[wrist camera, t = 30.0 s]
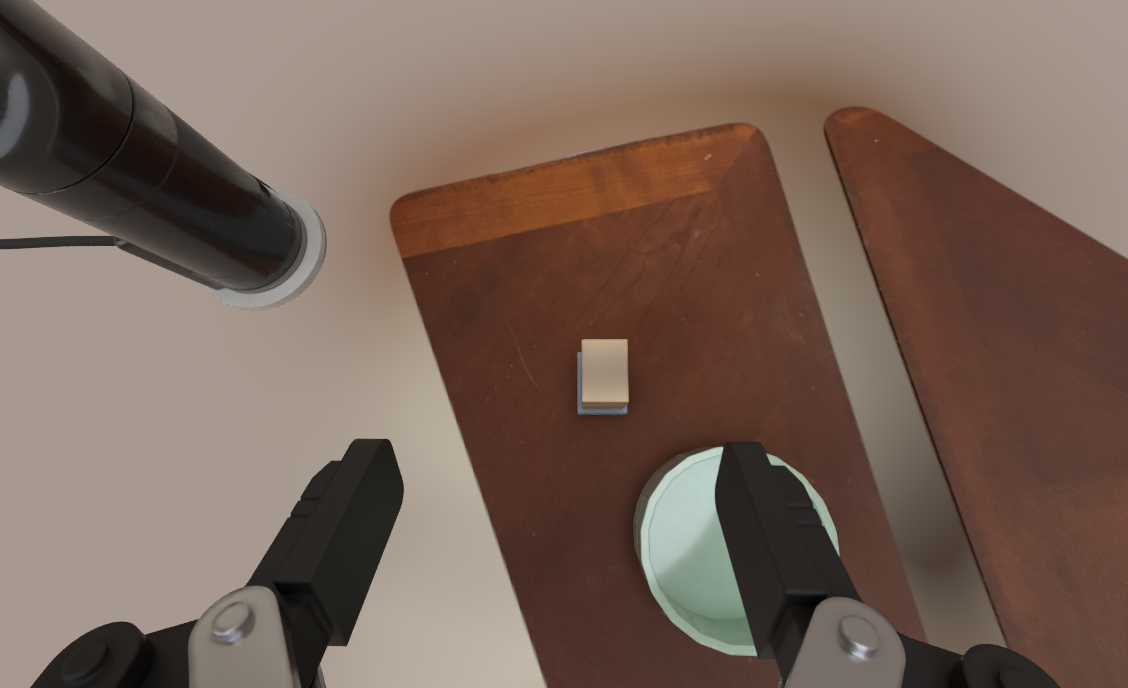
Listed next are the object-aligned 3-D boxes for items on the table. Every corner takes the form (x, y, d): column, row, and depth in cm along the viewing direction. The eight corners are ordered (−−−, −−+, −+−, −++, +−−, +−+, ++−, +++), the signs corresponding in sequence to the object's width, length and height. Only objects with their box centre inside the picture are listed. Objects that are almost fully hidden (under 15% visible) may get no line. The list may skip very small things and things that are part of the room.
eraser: (625, 415, 40) (635, 406, 32) (577, 414, 40) (575, 406, 32) (624, 356, 41) (633, 334, 33) (577, 356, 41) (575, 335, 33)
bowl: (667, 648, 36) (681, 684, 30) (610, 476, 39) (614, 480, 33) (831, 592, 36) (873, 618, 31) (762, 425, 39) (790, 422, 34)
